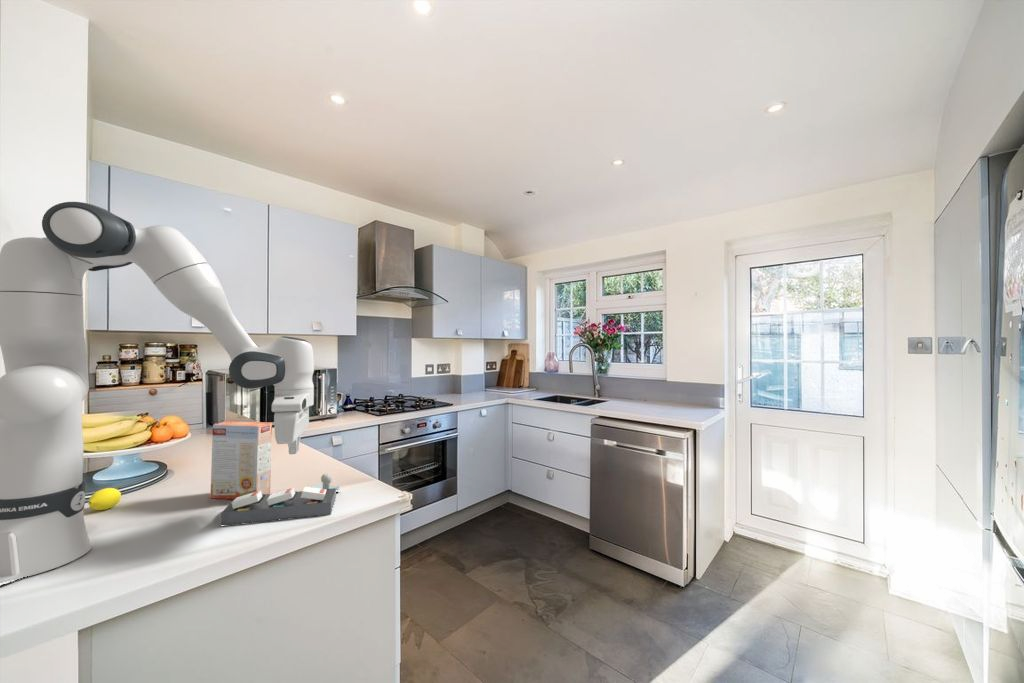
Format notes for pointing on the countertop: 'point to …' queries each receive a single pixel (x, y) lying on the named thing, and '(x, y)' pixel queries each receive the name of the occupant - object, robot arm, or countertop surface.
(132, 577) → the countertop surface
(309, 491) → the rocker
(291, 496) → the rocker
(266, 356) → the robot arm
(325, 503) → the power strip
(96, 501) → the lemon
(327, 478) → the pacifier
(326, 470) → the countertop surface
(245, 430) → the cracker box
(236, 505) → the rocker
